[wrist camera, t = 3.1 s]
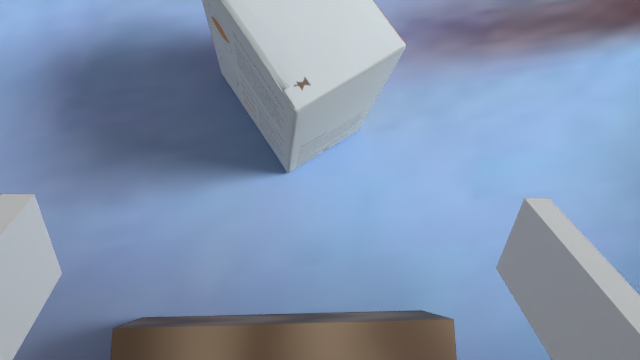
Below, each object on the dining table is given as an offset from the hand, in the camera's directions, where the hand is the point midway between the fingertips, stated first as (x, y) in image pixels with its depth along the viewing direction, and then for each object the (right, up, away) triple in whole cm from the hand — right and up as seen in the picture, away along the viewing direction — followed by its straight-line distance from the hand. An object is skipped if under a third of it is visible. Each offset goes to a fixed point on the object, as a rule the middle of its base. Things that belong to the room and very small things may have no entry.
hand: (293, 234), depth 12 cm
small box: (-1, +7, +15) cm, 17 cm away
